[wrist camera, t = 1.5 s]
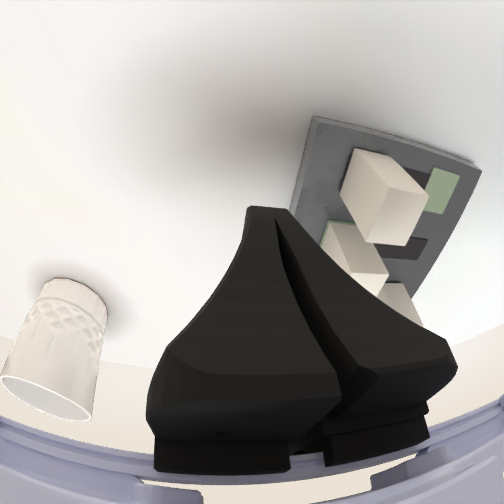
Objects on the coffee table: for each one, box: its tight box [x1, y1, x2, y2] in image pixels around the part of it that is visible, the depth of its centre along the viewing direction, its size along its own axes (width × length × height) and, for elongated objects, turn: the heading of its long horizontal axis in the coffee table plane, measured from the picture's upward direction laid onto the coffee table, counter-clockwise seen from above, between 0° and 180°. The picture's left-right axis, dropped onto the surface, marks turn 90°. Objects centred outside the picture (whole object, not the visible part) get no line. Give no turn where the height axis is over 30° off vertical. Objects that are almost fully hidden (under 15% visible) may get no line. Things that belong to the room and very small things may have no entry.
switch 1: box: [339, 148, 429, 246], centre depth 15 cm, size 2×3×4 cm
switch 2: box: [321, 223, 389, 297], centre depth 18 cm, size 2×3×4 cm
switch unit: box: [289, 116, 482, 299], centre depth 20 cm, size 13×15×1 cm
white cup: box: [0, 279, 107, 422], centre depth 20 cm, size 8×8×10 cm
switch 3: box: [377, 283, 423, 327], centre depth 22 cm, size 2×3×4 cm
